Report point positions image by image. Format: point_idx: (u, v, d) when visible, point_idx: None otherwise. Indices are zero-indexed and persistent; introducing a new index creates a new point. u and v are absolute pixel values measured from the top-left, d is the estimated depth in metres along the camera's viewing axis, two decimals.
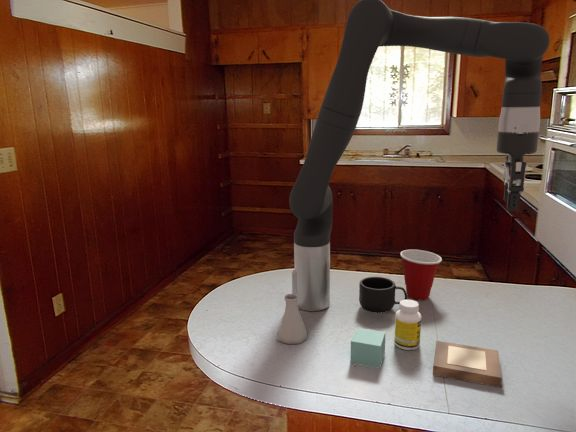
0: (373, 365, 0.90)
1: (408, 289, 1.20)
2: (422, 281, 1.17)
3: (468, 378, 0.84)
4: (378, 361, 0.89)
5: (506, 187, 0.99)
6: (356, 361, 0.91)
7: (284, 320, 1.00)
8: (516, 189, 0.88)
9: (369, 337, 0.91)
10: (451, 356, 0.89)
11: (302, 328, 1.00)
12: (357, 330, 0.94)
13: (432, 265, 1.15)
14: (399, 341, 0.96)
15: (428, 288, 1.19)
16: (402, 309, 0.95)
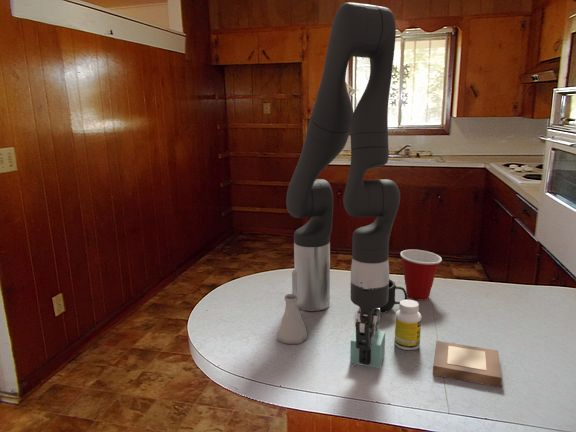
0: (373, 364, 0.90)
1: (408, 289, 1.20)
2: (422, 281, 1.17)
3: (468, 378, 0.84)
4: (378, 360, 0.89)
5: None
6: (356, 361, 0.91)
7: (284, 320, 1.00)
8: (362, 348, 0.86)
9: None
10: (451, 356, 0.89)
11: (302, 328, 1.00)
12: None
13: (432, 265, 1.15)
14: (399, 341, 0.96)
15: (428, 288, 1.19)
16: (402, 309, 0.95)
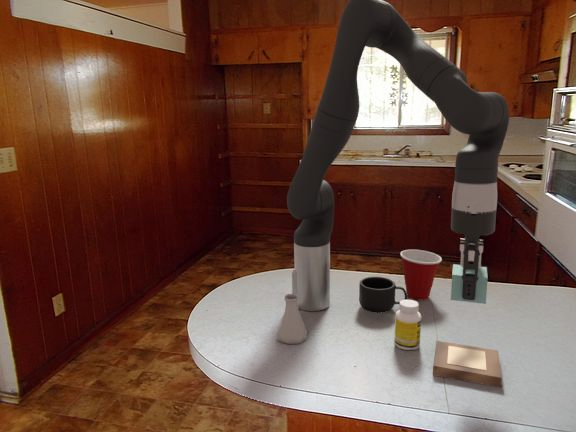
0: (478, 300, 0.82)
1: (408, 289, 1.20)
2: (422, 281, 1.17)
3: (468, 378, 0.84)
4: (484, 295, 0.81)
5: None
6: (457, 297, 0.83)
7: (284, 320, 1.00)
8: (470, 279, 0.78)
9: (471, 271, 0.83)
10: (451, 356, 0.89)
11: (302, 328, 1.00)
12: (454, 266, 0.87)
13: (432, 265, 1.15)
14: (399, 341, 0.96)
15: (428, 288, 1.19)
16: (402, 309, 0.95)
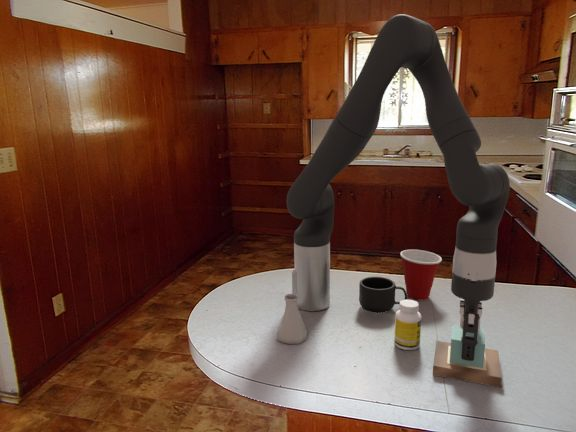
0: (475, 364, 0.85)
1: (408, 289, 1.20)
2: (422, 281, 1.17)
3: (468, 378, 0.84)
4: (481, 360, 0.85)
5: (464, 322, 0.91)
6: (456, 360, 0.86)
7: (284, 320, 1.00)
8: (469, 342, 0.81)
9: (469, 335, 0.87)
10: None
11: (302, 328, 1.00)
12: (453, 328, 0.90)
13: (432, 265, 1.15)
14: (399, 341, 0.96)
15: (428, 288, 1.19)
16: (402, 309, 0.95)
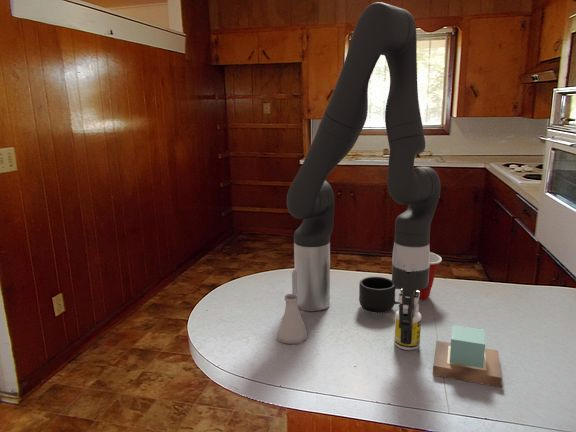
0: (475, 364, 0.85)
1: None
2: None
3: (468, 378, 0.84)
4: (481, 360, 0.85)
5: None
6: (456, 360, 0.86)
7: (284, 320, 1.00)
8: (405, 328, 0.91)
9: (469, 335, 0.87)
10: None
11: (302, 328, 1.00)
12: (453, 328, 0.90)
13: (432, 265, 1.15)
14: (399, 341, 0.96)
15: (428, 288, 1.19)
16: None
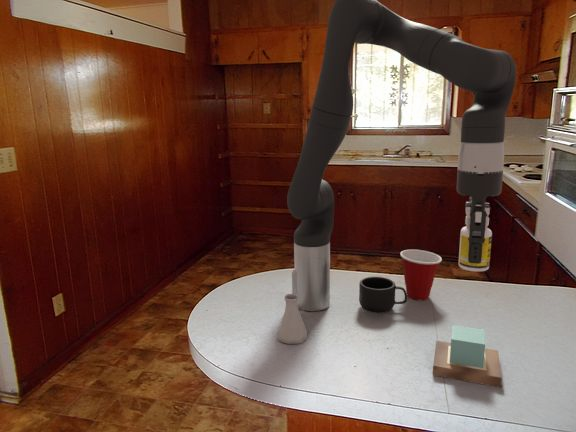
0: (475, 364, 0.85)
1: (408, 289, 1.20)
2: (422, 281, 1.17)
3: (468, 378, 0.84)
4: (481, 360, 0.85)
5: None
6: (456, 360, 0.86)
7: (284, 320, 1.00)
8: (476, 241, 0.77)
9: (469, 335, 0.87)
10: None
11: (302, 328, 1.00)
12: (453, 328, 0.90)
13: (432, 265, 1.15)
14: (466, 261, 0.82)
15: (428, 288, 1.19)
16: None
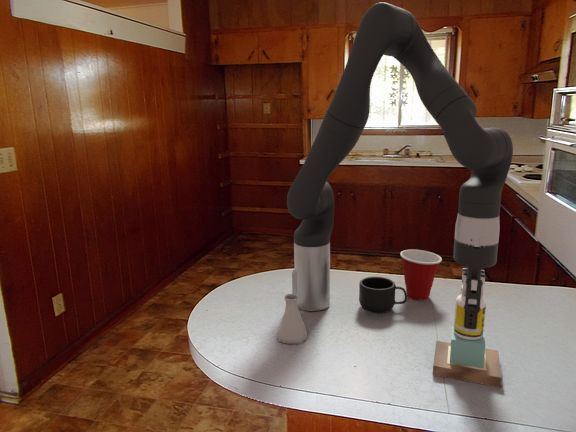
0: (476, 365, 0.85)
1: (408, 289, 1.20)
2: (422, 281, 1.17)
3: (468, 378, 0.84)
4: (482, 360, 0.84)
5: None
6: (456, 360, 0.86)
7: (284, 320, 1.00)
8: (472, 309, 0.79)
9: None
10: None
11: (302, 328, 1.00)
12: (453, 328, 0.90)
13: (432, 265, 1.15)
14: (461, 330, 0.85)
15: (428, 288, 1.19)
16: None
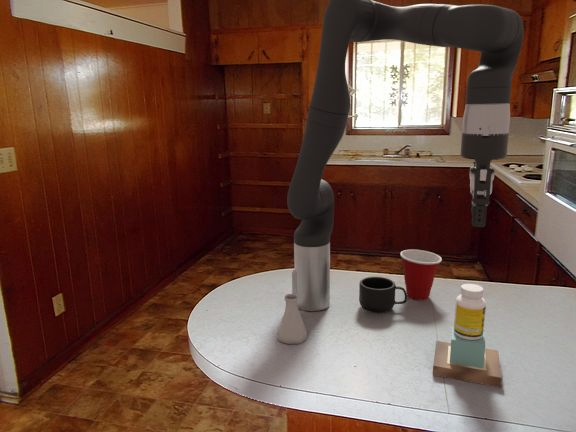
0: (476, 365, 0.85)
1: (408, 289, 1.20)
2: (422, 281, 1.17)
3: (468, 378, 0.84)
4: (482, 360, 0.84)
5: None
6: (456, 360, 0.86)
7: (284, 320, 1.00)
8: (481, 201, 0.74)
9: None
10: None
11: (302, 328, 1.00)
12: (453, 328, 0.90)
13: (432, 265, 1.15)
14: (461, 330, 0.85)
15: (428, 288, 1.19)
16: (465, 294, 0.84)
